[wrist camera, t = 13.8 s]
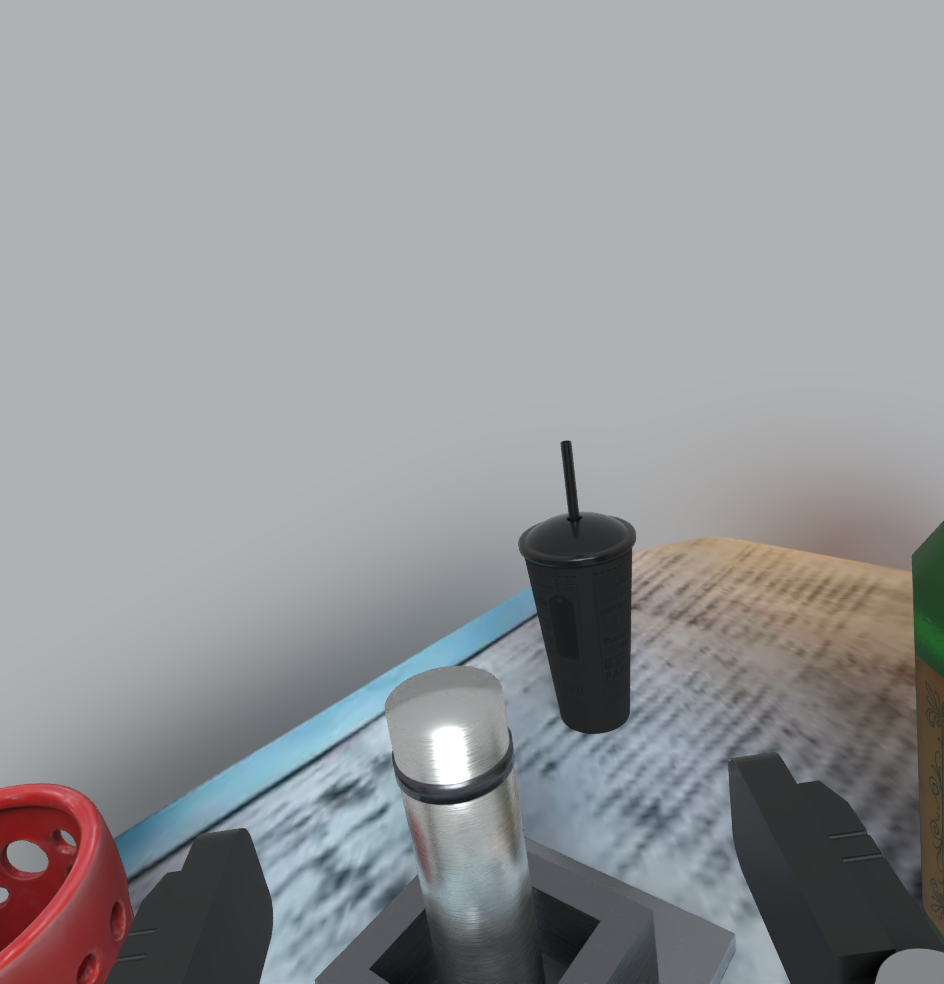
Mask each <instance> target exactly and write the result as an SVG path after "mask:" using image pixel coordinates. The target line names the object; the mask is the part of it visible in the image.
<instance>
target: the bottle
mask: <svg viewBox="0 0 944 984" xmlns="http://www.w3.org/2000/svg"><path fill="white" fill-rule="evenodd" d="M912 578H913V610H914V643H915V675H916V708H917V740H918V773H919V806H920V838H921V871H922V903H923V916H924V917H925V919H926V920H927V922H928V923H929V925H930V926H931V928H932V929H933V931H934V932H935V934H936V935H937V937H938V938H939V940H940V941H941V943H942V944H943V946H944V521H943V522H942V523H941V524H940V525H939V527H938V528H937V529H936V530H935V531H934V532H933V533H932V534H931V535H930V536H929V537H928V538H927V539H926V541H925V542H924V543H923V544H922V545H921V546H920V547H919V548H918V549H917V550H916V551H915V553H914V554H913V555H912Z"/></svg>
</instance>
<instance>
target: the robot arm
mask: <svg viewBox="0 0 944 984" xmlns="http://www.w3.org/2000/svg"><path fill="white" fill-rule="evenodd" d="M728 770H729V786H730V801H731V817H732V831H733V839H734V844H735V849H736V853H737V857H738V860H739V863H740V867H741V869H742V872H743V875H744V877H745V879H746V882H747V884H748V886H749V889H750V891H751V893H752V895H753V898H754V900H755V902H756V905H757V907H758V909H759V912H760V914H761V916H762V919H763V921H764V923H765V925H766V928H767V930H768V932H769V935H770V937H771V939H772V942H773V944H774V946H775V949H776V951H777V953H778V955H779V958H780V960H781V962H782V965H783V967H784V969H785V972H786V974H787V976H788V978H789V981H790V983H791V984H944V946H943V944H942V943H941V941H940V940H939V938H938V937H937V935H936V934H935V932H934V931H933V929H932V928H931V926H930V925H929V923H928V922H927V920H926V919H925V917H924V916H923V914H922V913H921V911H920V910H919V908H918V907H917V905H916V904H915V902H914V901H913V899H912V898H911V896H910V895H909V893H908V892H907V890H906V889H905V887H904V886H903V884H902V883H901V881H900V880H899V878H898V877H897V875H896V874H895V872H894V871H893V869H892V868H891V866H890V865H889V863H888V862H887V860H886V859H885V858H884V859H883V857H882V854H881V851H880V850H879V848H878V847H877V845H876V844H875V842H874V841H873V839H872V838H871V836H870V835H867V832H866V829H865V827H864V826H863V824H862V823H861V821H860V820H859V818H858V817H857V815H856V814H855V812H854V811H853V809H852V808H851V806H850V805H849V803H848V802H847V801H845V800H844V799H843V798H841V797H840V796H839V795H837V794H836V793H835V792H833V791H832V790H831V789H829V788H828V787H827V786H825V785H824V784H823V783H821V782H820V781H813V782H806V783H799V784H797V783H796V781H795V780H794V778H793V776H792V775H791V773H790V771H789V770H788V768H787V766H786V765H785V763H784V761H783V760H782V758H781V757H780V755H779V754H778V753H776V752H772V753H765V754H758V755H751V756H745V757H738V758H731V759H730V760H729V764H728ZM272 928H273V908H272V901H271V896H270V893H269V890H268V887H267V884H266V881H265V878H264V875H263V872H262V869H261V866H260V863H259V860H258V857H257V854H256V851H255V848H254V845H253V842H252V839H251V836H250V834H249V832H248V831H247V830H246V829H245V828H240V829H233V830H227V831H220V832H213V833H206V834H201V835H199V836H197V837H196V839H195V840H194V842H193V844H192V847H191V849H190V851H189V854H188V856H187V858H186V861H185V863H184V865H183V868H182V870H181V871H177V872H170V873H167V874H166V875H165V876H164V877H163V878H162V879H161V880H160V882H159V883H158V884H157V885H156V886H155V887H154V888H153V890H152V891H151V892H150V893H149V894H148V895H147V897H146V898H145V899H144V900H143V901H142V903H141V905H140V908H139V910H138V912H137V914H136V916H135V918H134V920H133V923H132V925H131V927H130V929H129V931H128V933H129V935H128V938H125V940H124V942H123V944H122V946H121V949H120V951H119V953H118V955H117V957H116V958H117V962H116V964H113V966H112V968H111V970H110V972H109V974H108V977H107V979H106V981H105V983H104V984H259V982H260V979H261V975H262V971H263V967H264V963H265V959H266V956H267V952H268V948H269V944H270V940H271V935H272Z"/></svg>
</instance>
